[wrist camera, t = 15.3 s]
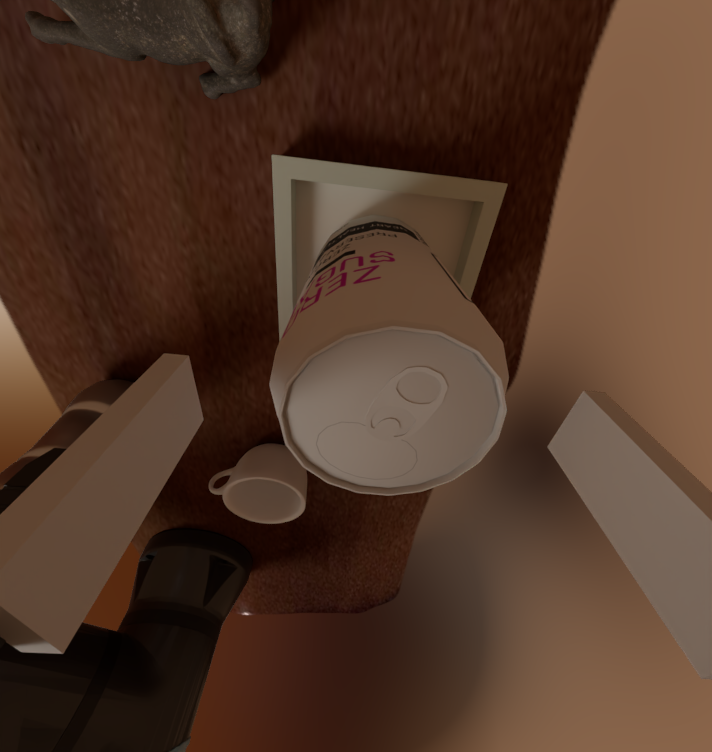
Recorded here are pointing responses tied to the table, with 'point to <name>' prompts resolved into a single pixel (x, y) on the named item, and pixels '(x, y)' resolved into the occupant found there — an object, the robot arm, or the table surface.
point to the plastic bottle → (72, 422)
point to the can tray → (376, 197)
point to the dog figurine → (170, 34)
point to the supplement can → (387, 366)
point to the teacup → (265, 485)
